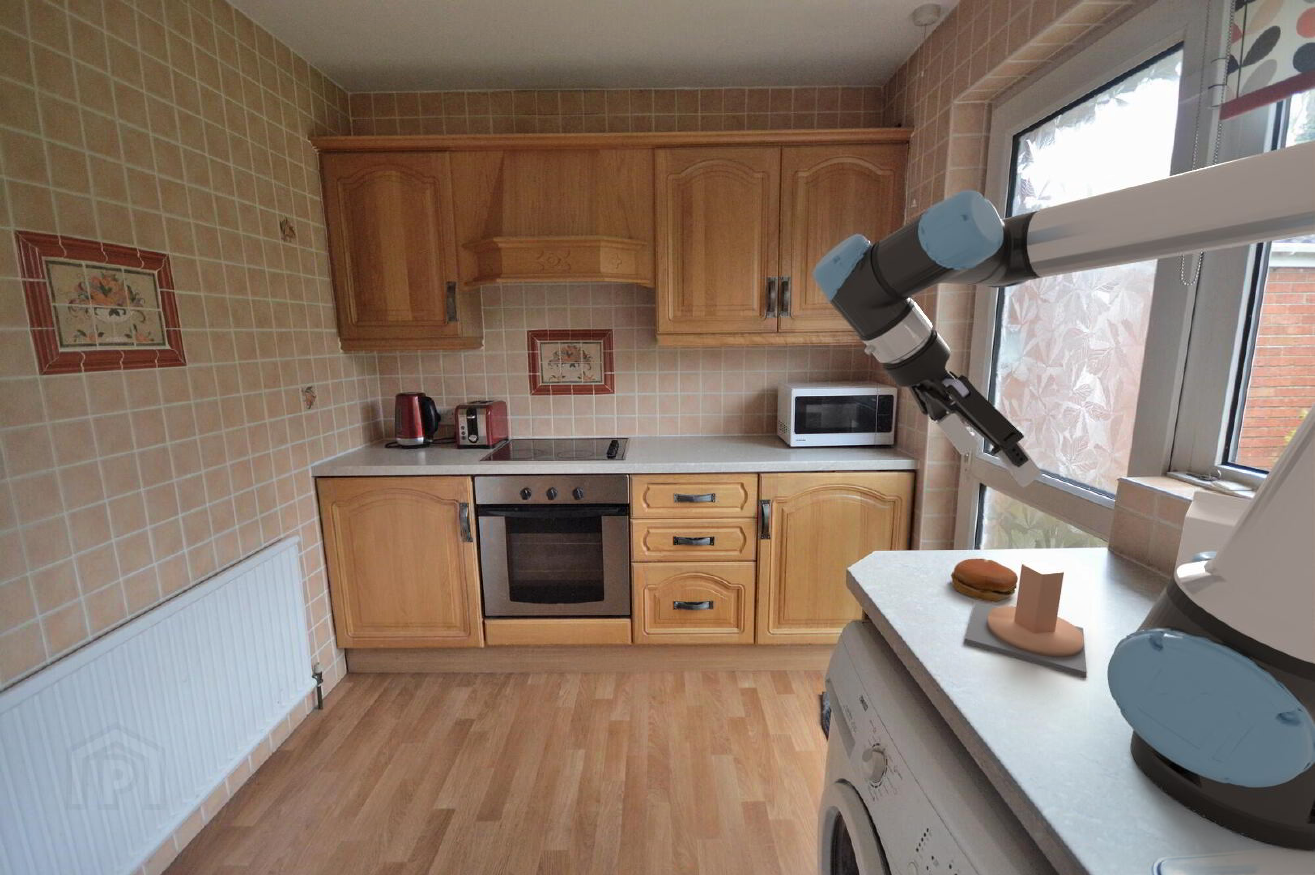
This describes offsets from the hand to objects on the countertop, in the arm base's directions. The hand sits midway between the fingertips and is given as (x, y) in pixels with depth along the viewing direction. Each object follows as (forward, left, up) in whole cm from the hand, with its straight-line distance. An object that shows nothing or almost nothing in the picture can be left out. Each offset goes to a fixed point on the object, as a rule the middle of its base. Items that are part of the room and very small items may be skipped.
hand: (998, 463), depth 76 cm
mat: (+5, -6, -26) cm, 27 cm away
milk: (+17, -26, -27) cm, 41 cm away
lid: (+5, -7, -26) cm, 27 cm away
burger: (+19, +1, -27) cm, 33 cm away
